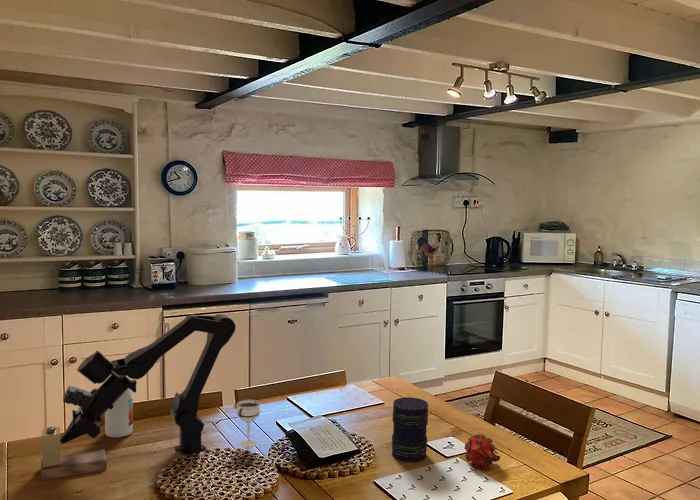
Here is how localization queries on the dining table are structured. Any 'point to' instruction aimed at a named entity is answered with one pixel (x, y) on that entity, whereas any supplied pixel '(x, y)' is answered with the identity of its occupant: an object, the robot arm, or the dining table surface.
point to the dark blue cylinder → (409, 429)
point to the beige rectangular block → (51, 446)
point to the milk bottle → (120, 416)
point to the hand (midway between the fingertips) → (61, 442)
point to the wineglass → (248, 417)
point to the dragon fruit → (481, 451)
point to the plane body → (76, 464)
